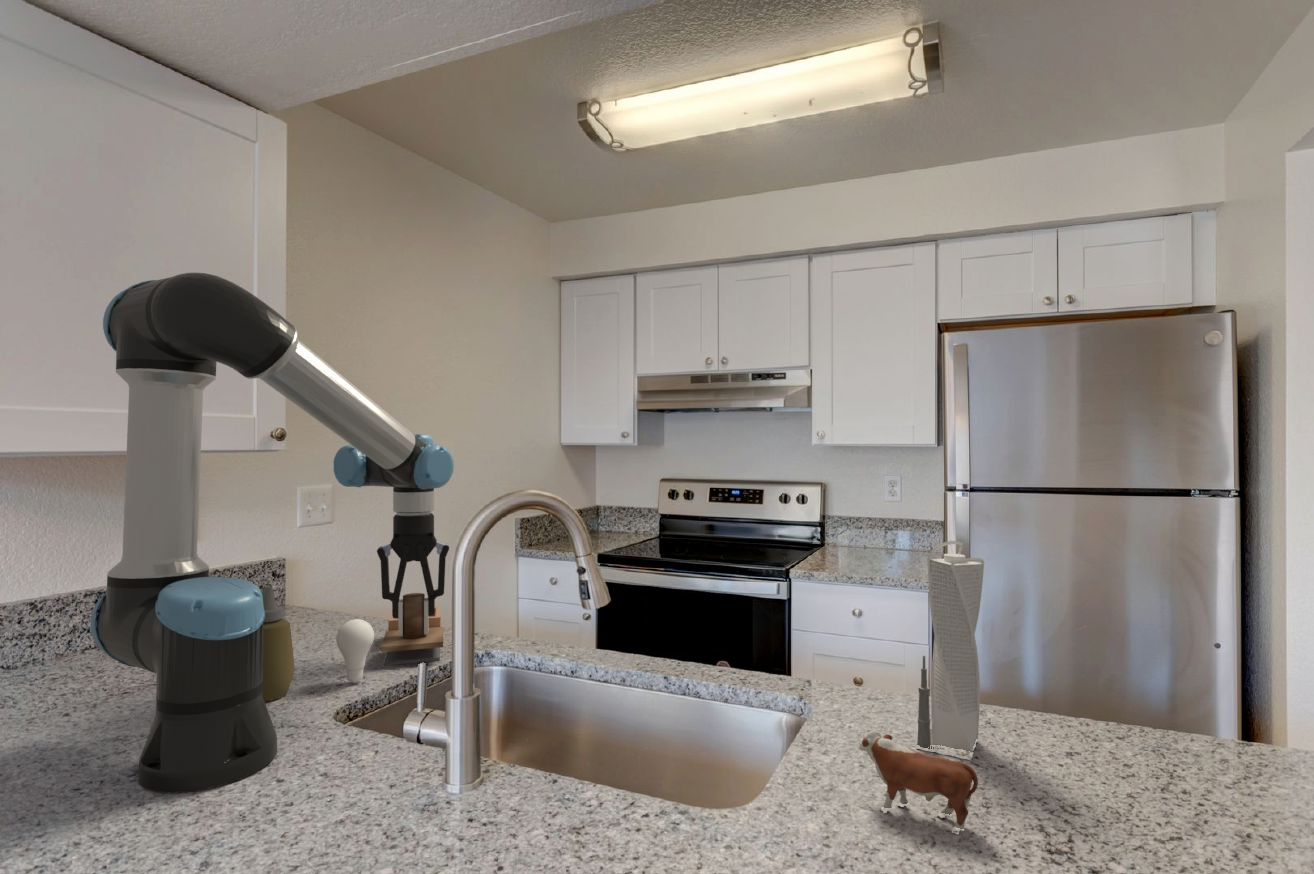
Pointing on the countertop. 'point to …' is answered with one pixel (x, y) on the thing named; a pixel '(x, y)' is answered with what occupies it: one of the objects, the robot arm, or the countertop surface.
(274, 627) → the squeeze bottle
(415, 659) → the mat
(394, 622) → the pink open box
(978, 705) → the skyscraper
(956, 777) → the bull figurine
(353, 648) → the lightbulb
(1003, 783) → the countertop surface
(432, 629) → the lid
